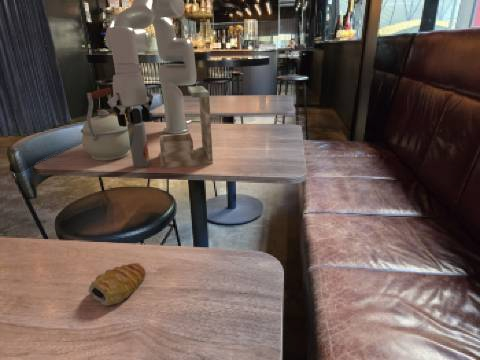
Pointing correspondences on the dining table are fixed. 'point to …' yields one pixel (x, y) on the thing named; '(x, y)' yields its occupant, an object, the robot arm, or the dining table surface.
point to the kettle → (104, 132)
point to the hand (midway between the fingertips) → (135, 123)
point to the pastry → (117, 283)
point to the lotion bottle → (137, 139)
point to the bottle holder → (189, 139)
